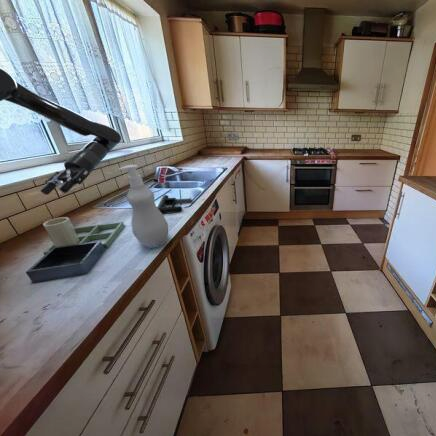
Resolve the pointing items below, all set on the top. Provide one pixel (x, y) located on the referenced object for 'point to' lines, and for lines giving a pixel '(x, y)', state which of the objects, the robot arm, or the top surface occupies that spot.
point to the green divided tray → (93, 235)
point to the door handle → (171, 201)
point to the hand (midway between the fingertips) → (52, 192)
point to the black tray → (66, 261)
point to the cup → (61, 232)
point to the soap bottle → (145, 212)
